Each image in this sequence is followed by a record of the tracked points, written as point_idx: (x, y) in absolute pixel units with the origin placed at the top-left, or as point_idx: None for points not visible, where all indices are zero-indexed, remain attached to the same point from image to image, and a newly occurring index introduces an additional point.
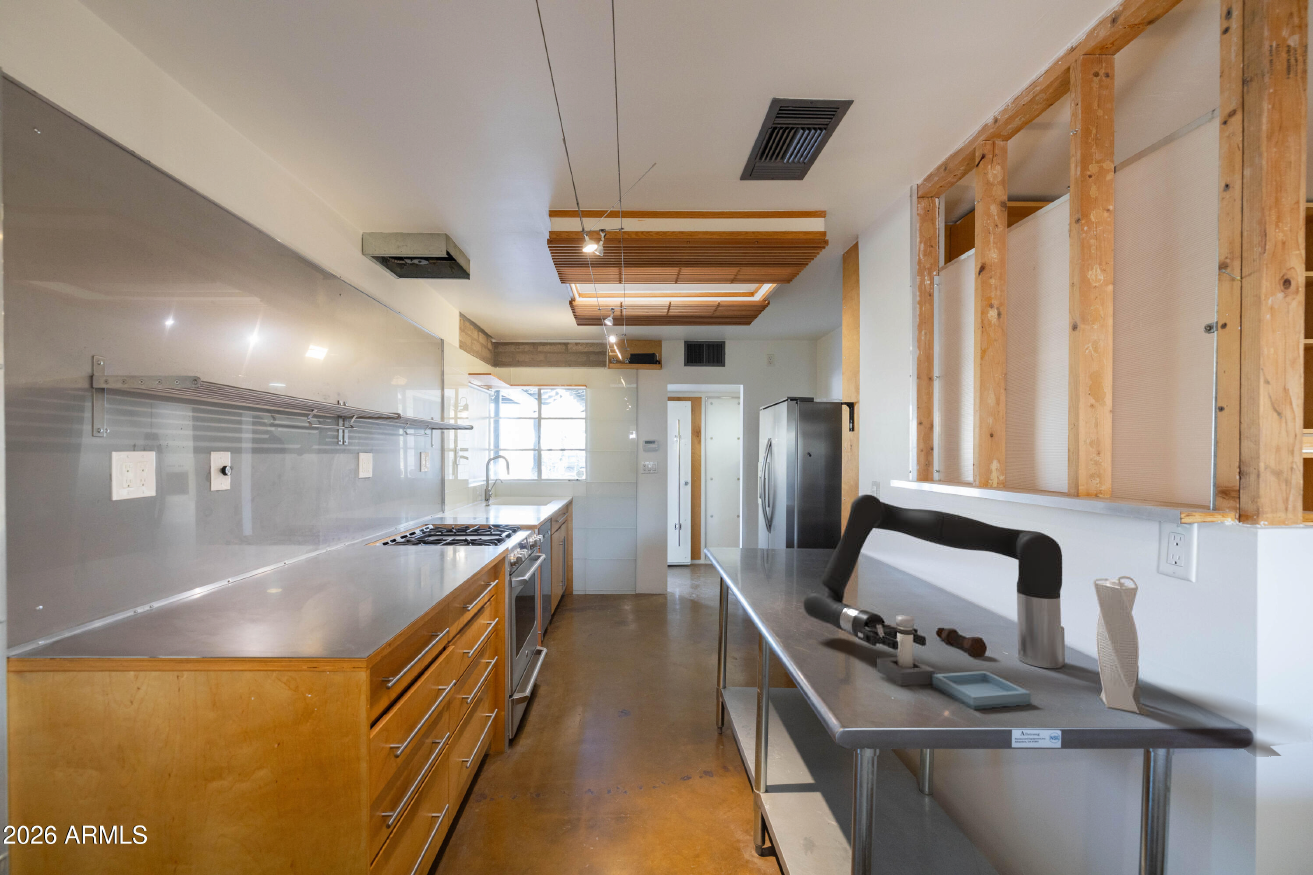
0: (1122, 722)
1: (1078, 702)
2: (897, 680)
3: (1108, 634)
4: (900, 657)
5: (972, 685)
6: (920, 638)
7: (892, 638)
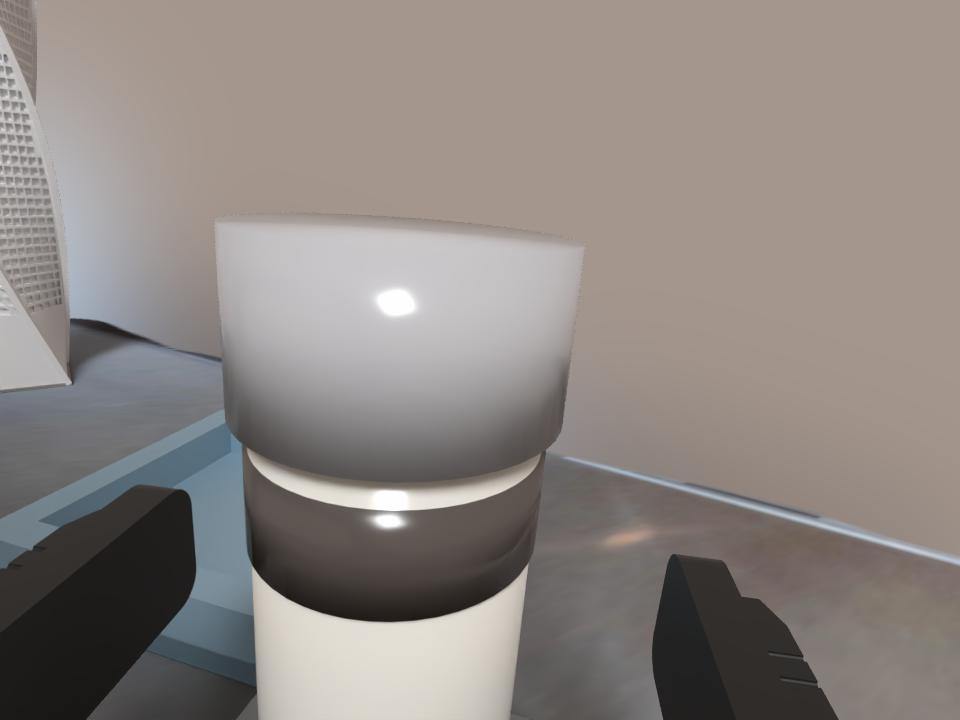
0: (186, 369)
1: (74, 410)
2: None
3: (44, 135)
4: None
5: (209, 566)
6: (156, 544)
7: (705, 619)
